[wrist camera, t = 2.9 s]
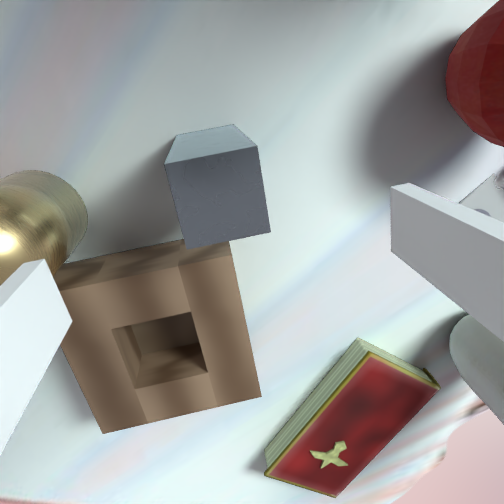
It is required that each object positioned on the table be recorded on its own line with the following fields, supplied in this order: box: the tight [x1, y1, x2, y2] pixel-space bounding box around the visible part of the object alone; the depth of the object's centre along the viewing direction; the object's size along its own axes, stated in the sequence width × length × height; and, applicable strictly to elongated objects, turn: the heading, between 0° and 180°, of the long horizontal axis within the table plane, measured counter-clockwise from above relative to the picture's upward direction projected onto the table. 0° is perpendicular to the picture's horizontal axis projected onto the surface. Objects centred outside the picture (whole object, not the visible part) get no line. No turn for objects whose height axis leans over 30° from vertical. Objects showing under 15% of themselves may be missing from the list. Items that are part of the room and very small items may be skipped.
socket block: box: [53, 239, 262, 434], centre depth 36 cm, size 16×16×6 cm
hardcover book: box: [264, 338, 441, 498], centre depth 47 cm, size 12×21×4 cm, turn 147°
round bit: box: [0, 170, 88, 286], centre depth 28 cm, size 8×8×12 cm
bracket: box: [459, 174, 504, 222], centre depth 38 cm, size 7×10×4 cm, turn 133°
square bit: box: [164, 124, 271, 250], centre depth 27 cm, size 5×5×14 cm
